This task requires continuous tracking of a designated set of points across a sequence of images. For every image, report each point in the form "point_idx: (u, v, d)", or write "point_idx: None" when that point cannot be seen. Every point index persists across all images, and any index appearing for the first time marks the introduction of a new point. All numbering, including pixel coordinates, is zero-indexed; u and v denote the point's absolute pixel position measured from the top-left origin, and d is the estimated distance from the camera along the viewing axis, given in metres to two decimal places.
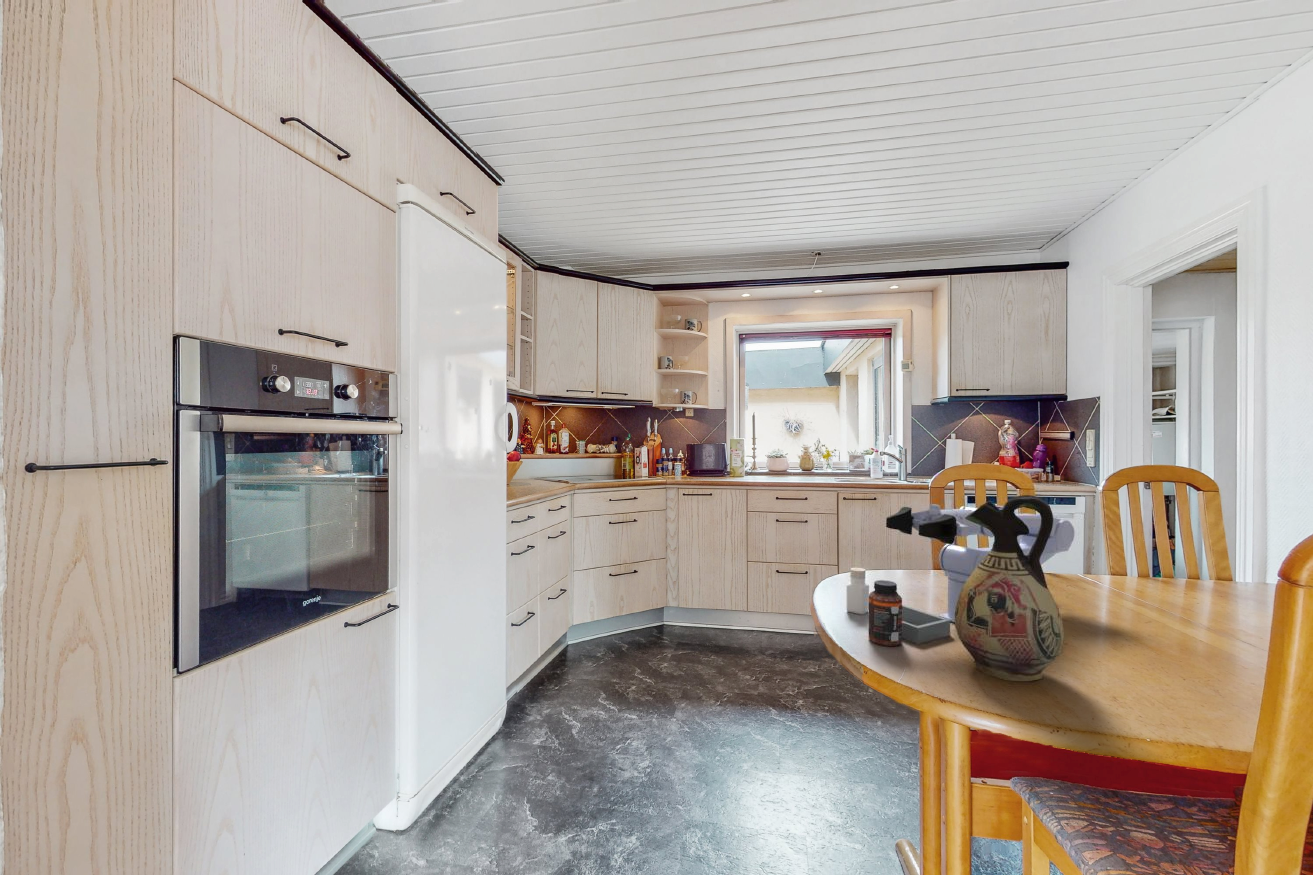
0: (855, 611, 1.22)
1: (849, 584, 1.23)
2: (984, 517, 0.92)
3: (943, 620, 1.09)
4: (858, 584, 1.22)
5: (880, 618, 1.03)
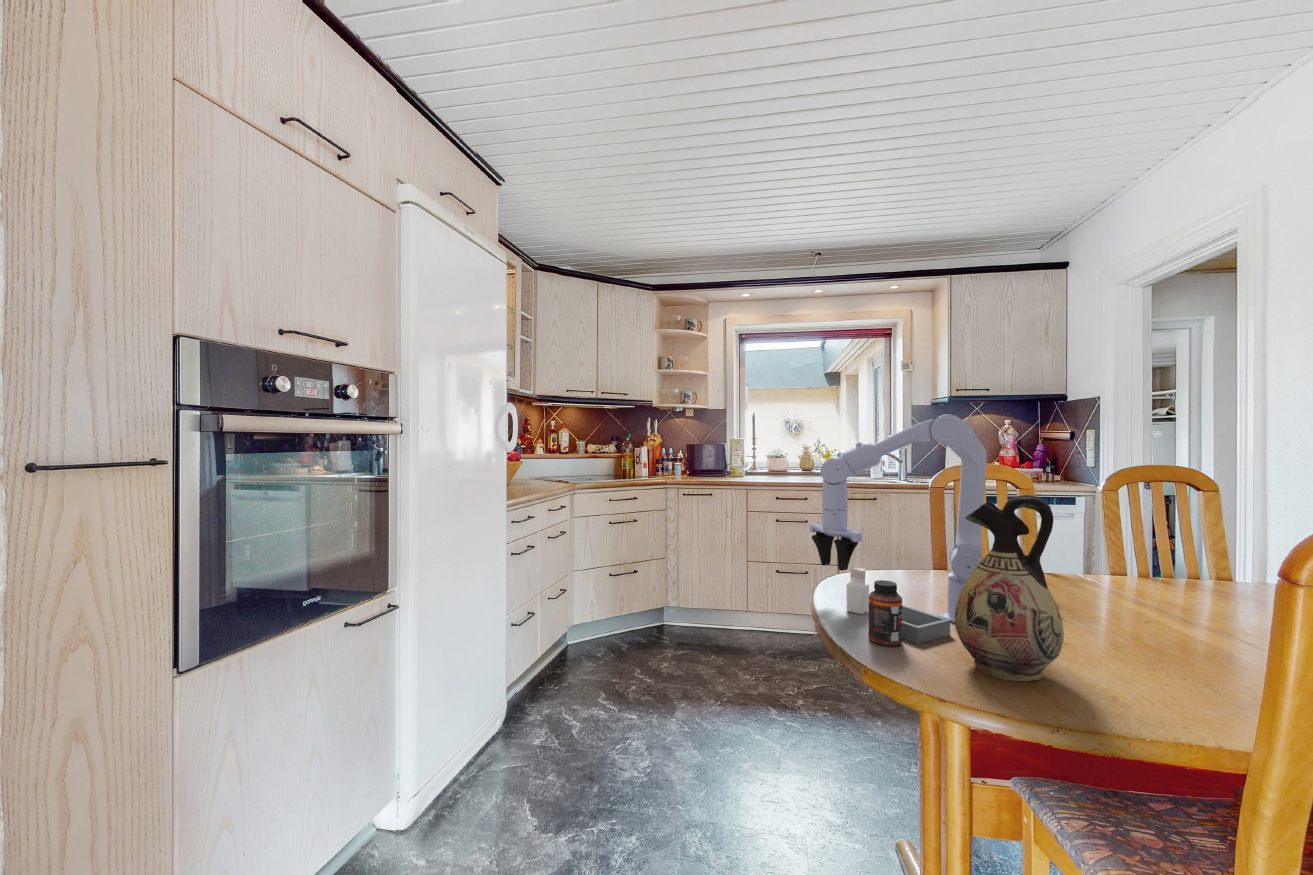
0: (855, 611, 1.22)
1: (849, 584, 1.23)
2: (984, 517, 0.92)
3: (943, 620, 1.09)
4: (858, 584, 1.22)
5: (880, 618, 1.03)
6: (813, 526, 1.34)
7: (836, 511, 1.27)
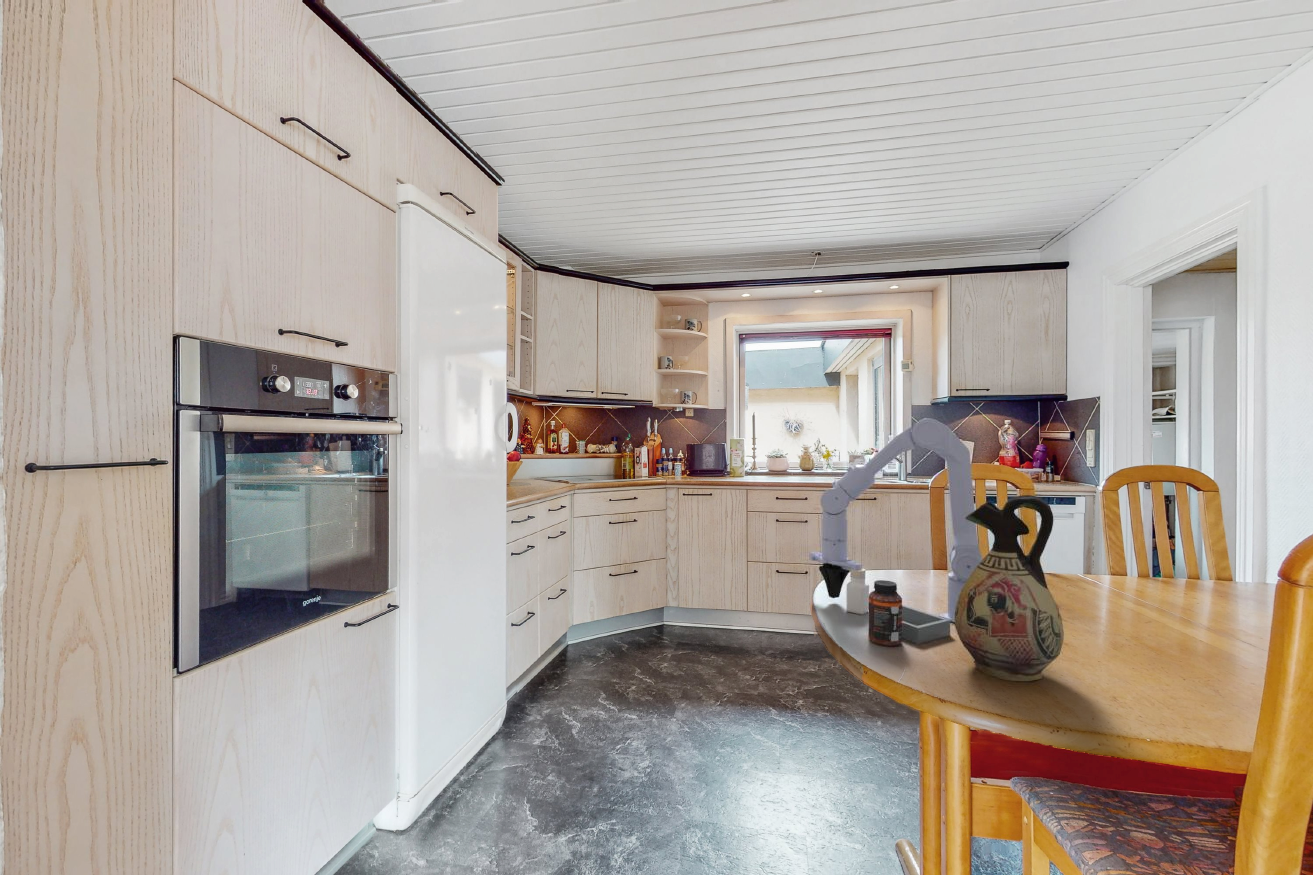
0: (855, 611, 1.22)
1: (849, 584, 1.23)
2: (984, 517, 0.92)
3: (943, 620, 1.09)
4: (858, 584, 1.22)
5: (880, 618, 1.03)
6: (813, 555, 1.34)
7: (836, 541, 1.27)
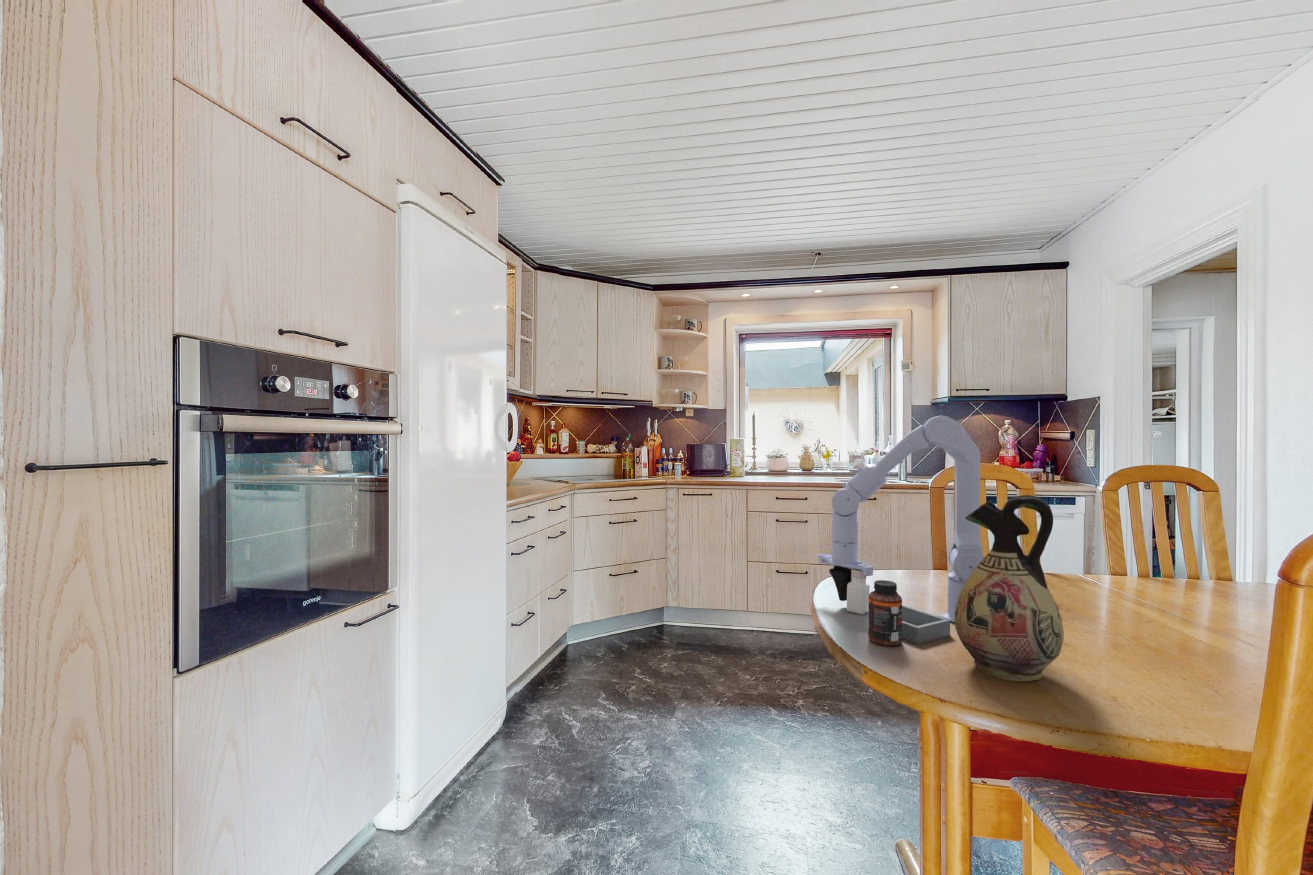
0: (855, 611, 1.22)
1: (850, 584, 1.23)
2: (984, 517, 0.92)
3: (943, 620, 1.09)
4: (858, 585, 1.22)
5: (880, 618, 1.03)
6: (822, 557, 1.31)
7: (846, 543, 1.24)
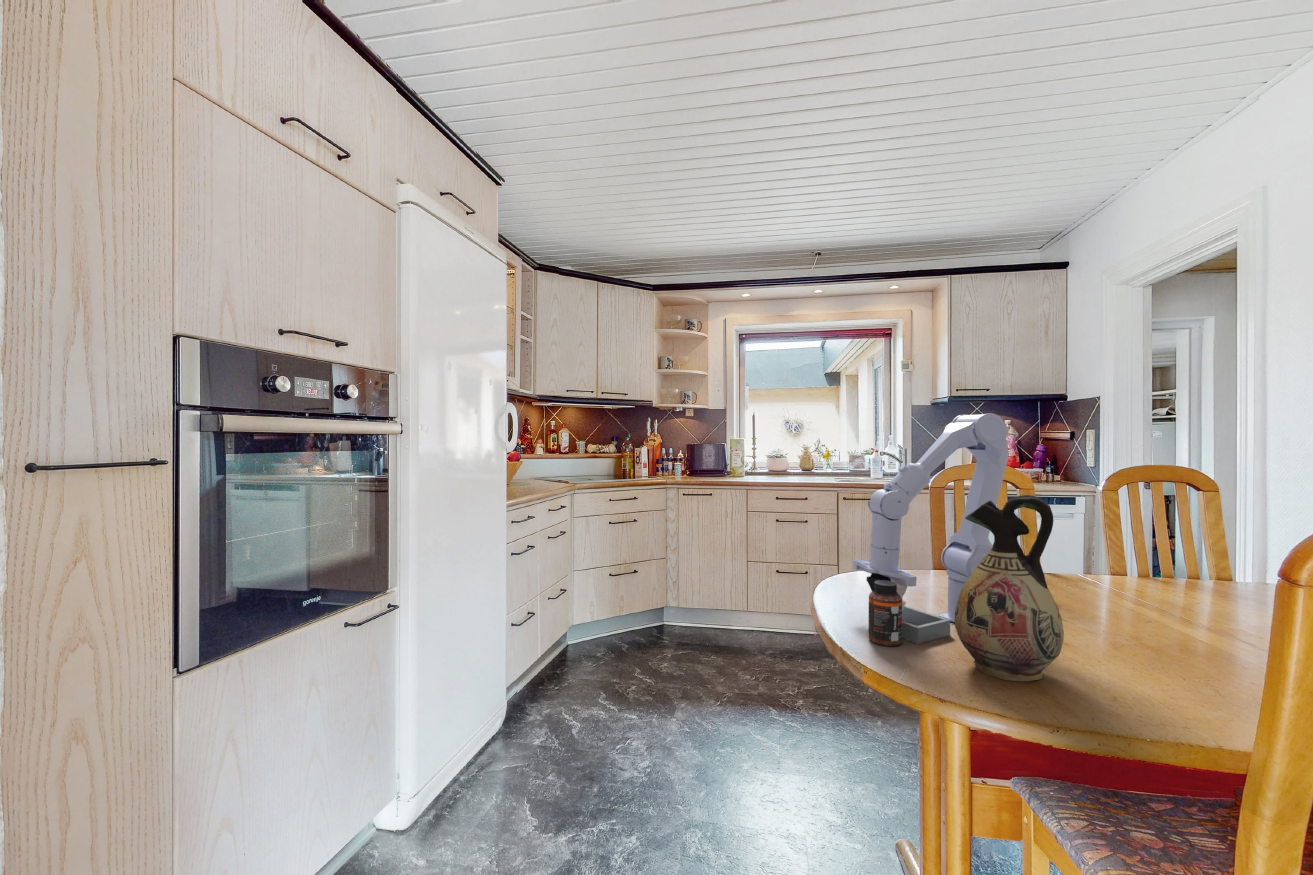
0: None
1: None
2: (984, 517, 0.92)
3: (943, 620, 1.09)
4: None
5: (880, 618, 1.03)
6: (858, 563, 1.21)
7: (888, 550, 1.13)
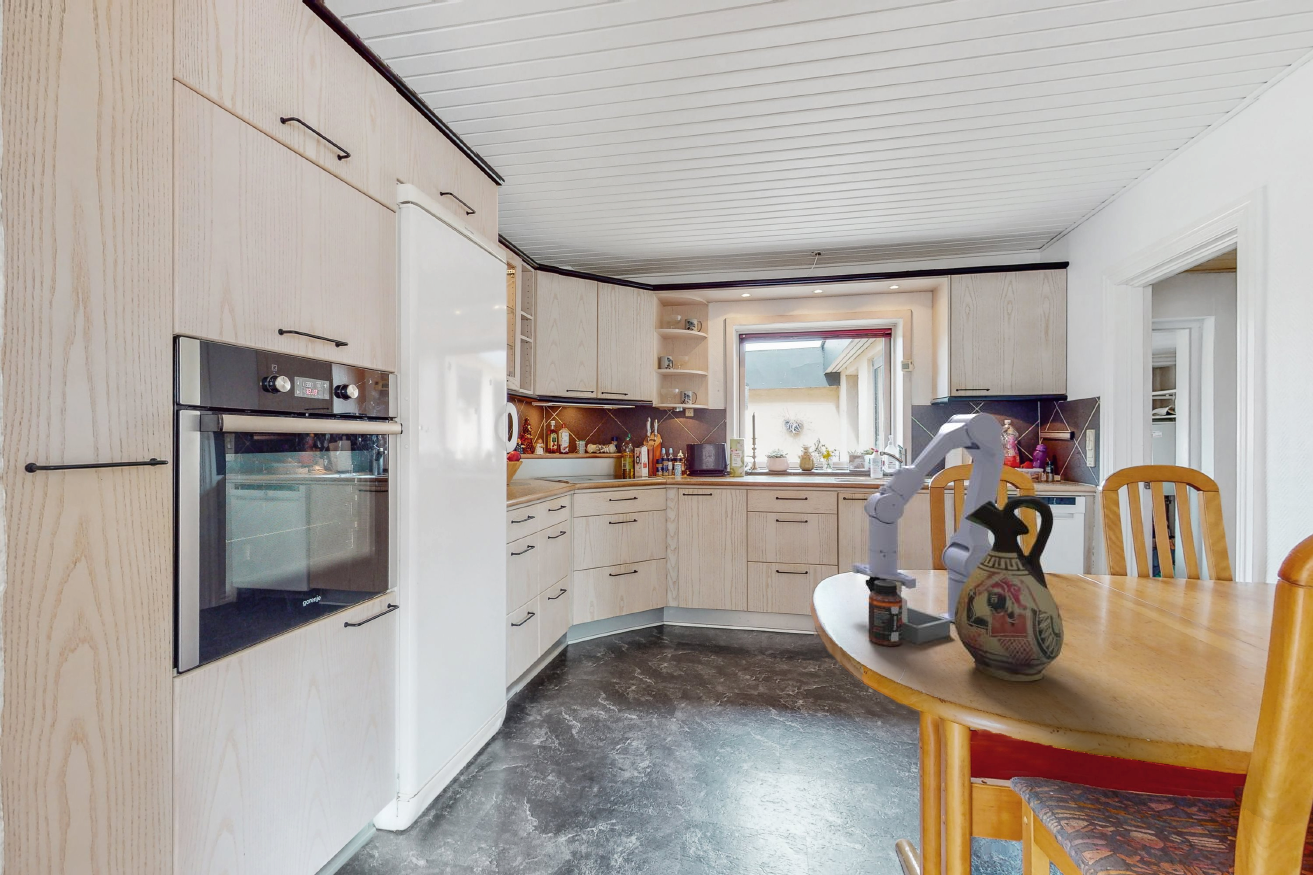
0: None
1: None
2: (984, 517, 0.92)
3: (943, 620, 1.09)
4: None
5: (880, 618, 1.03)
6: (857, 567, 1.22)
7: (886, 553, 1.14)
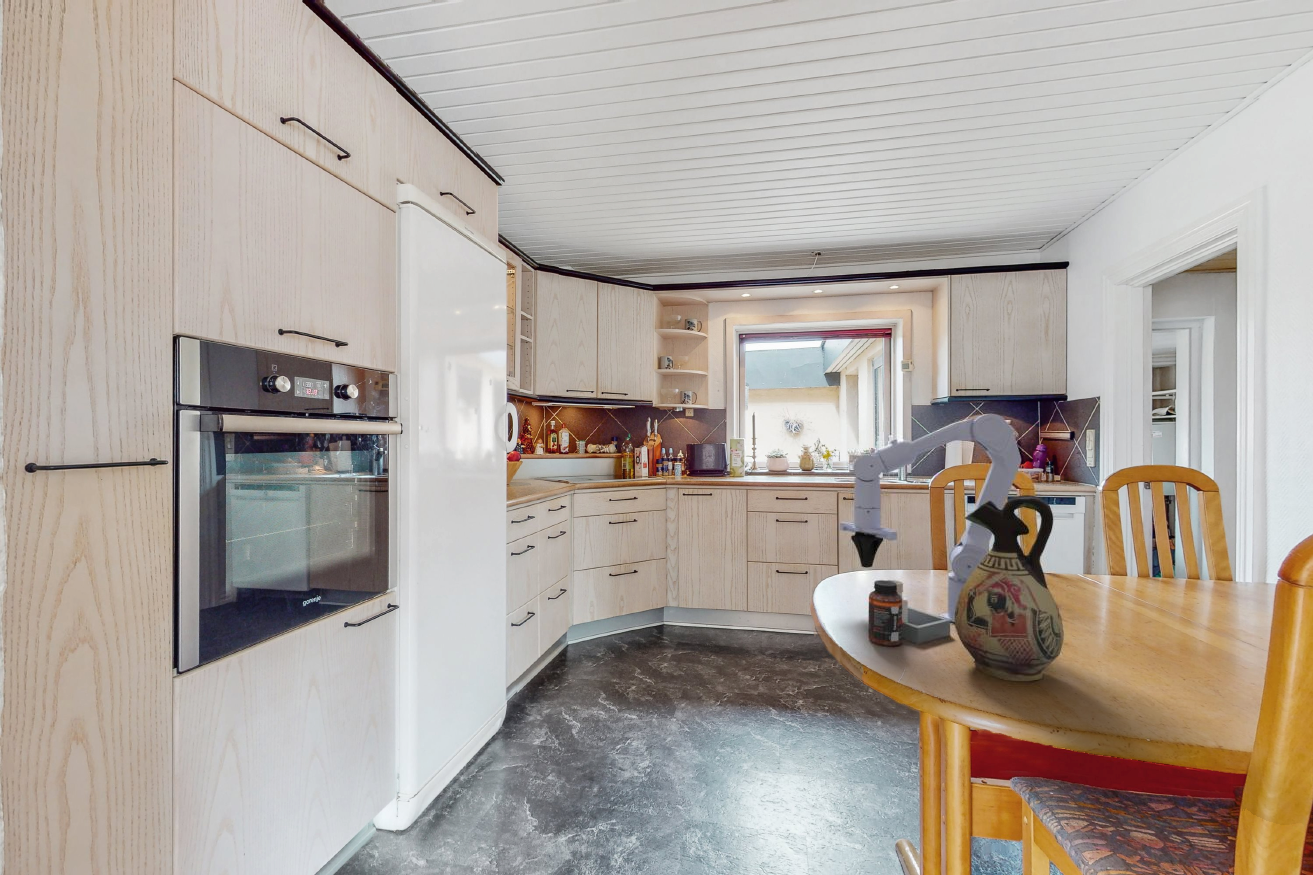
0: None
1: None
2: (984, 517, 0.92)
3: (943, 620, 1.09)
4: None
5: (880, 618, 1.03)
6: (844, 524, 1.30)
7: (869, 509, 1.23)
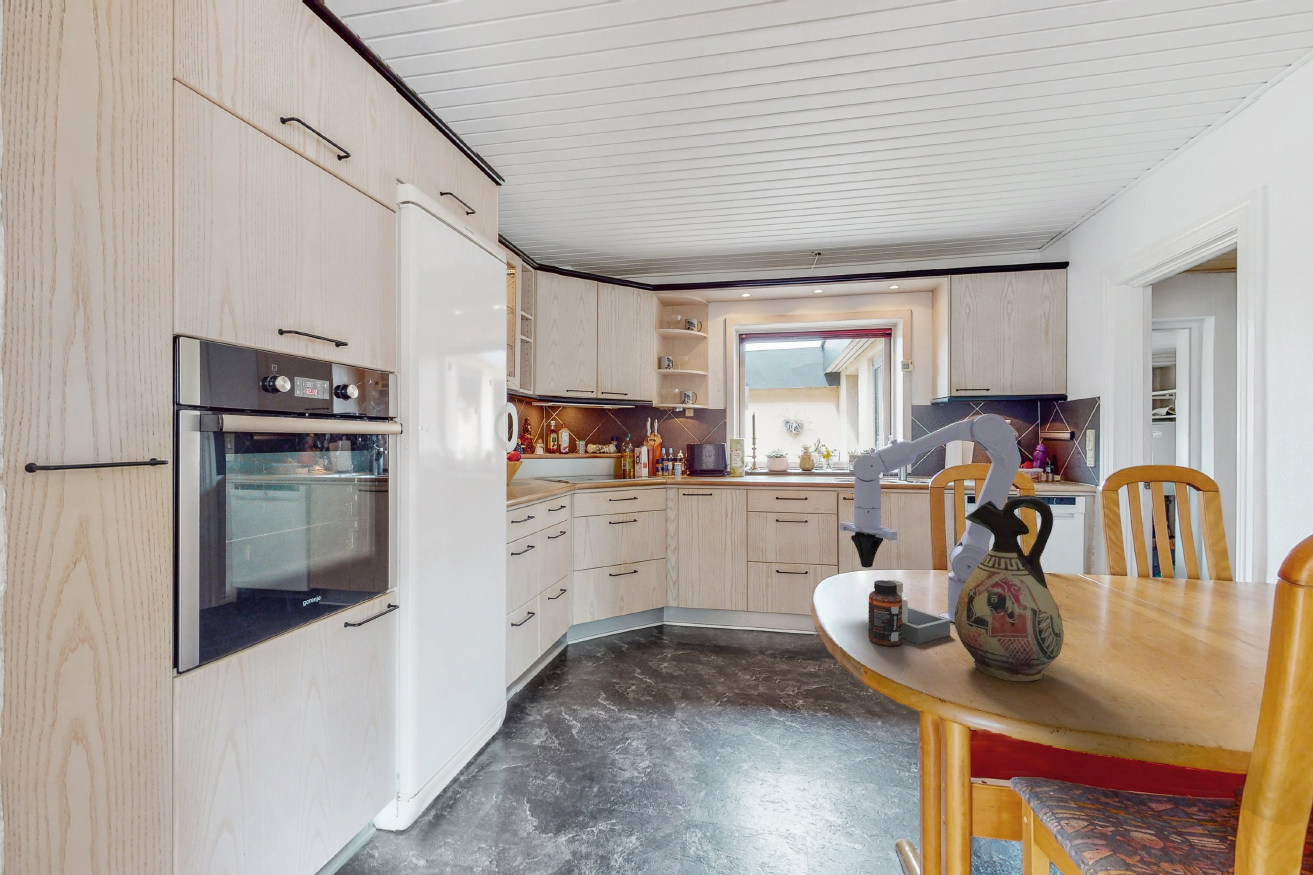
0: None
1: None
2: (984, 517, 0.92)
3: (943, 620, 1.09)
4: None
5: (880, 618, 1.03)
6: (844, 524, 1.30)
7: (869, 509, 1.23)
